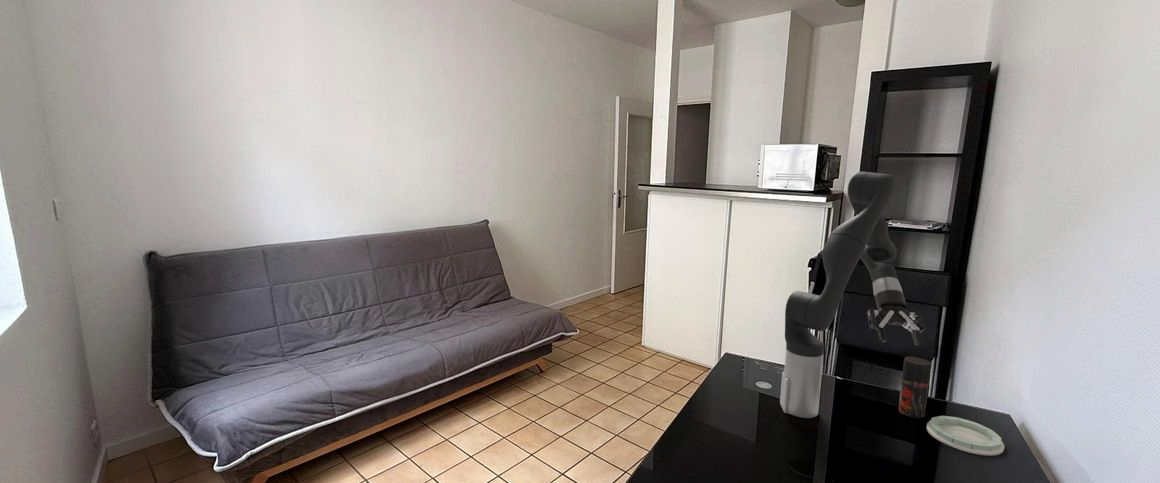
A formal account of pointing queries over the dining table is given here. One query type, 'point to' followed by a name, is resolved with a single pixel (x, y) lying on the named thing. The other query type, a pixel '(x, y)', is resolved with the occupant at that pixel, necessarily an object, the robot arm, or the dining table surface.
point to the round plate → (965, 435)
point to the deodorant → (914, 387)
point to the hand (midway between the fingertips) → (901, 342)
